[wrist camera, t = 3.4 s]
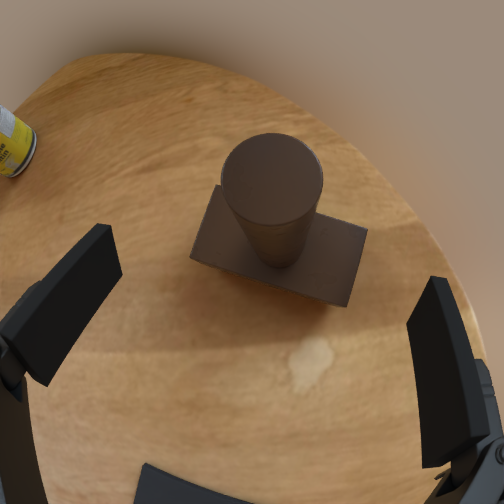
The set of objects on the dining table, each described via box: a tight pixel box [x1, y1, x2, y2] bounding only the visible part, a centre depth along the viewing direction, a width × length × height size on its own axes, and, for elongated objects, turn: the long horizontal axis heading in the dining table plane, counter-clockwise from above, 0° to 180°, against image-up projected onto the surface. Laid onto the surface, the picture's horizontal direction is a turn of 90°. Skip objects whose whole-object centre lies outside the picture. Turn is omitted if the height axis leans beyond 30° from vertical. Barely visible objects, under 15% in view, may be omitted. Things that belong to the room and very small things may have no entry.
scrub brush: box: [190, 133, 368, 308], centre depth 16 cm, size 10×5×14 cm, turn 72°
